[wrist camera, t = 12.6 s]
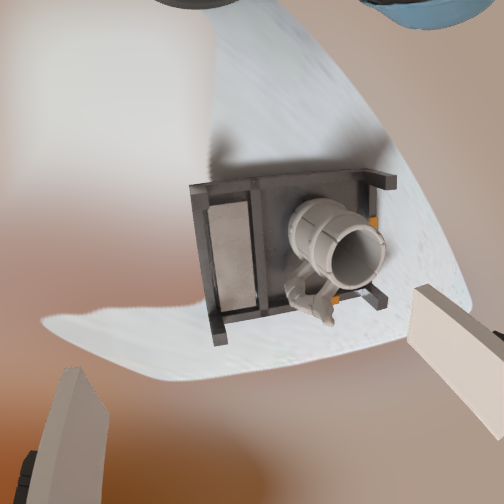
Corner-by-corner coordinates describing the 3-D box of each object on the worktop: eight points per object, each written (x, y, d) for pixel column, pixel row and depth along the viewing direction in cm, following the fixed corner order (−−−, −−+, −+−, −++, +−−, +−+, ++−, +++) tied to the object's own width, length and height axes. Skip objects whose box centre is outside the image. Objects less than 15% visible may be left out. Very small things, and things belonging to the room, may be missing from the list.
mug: (356, 216, 37) (418, 250, 26) (302, 296, 39) (344, 353, 28) (309, 182, 34) (366, 205, 23) (252, 269, 37) (283, 327, 26)
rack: (189, 185, 32) (190, 194, 27) (367, 168, 36) (397, 175, 30) (208, 317, 38) (214, 346, 33) (363, 287, 42) (387, 308, 36)
